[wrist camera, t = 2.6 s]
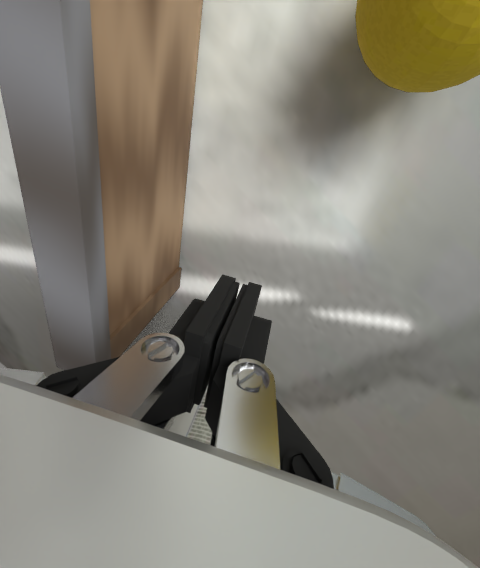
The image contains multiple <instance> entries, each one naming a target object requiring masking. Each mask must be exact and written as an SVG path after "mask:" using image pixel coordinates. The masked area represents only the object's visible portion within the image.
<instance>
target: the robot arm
mask: <svg viewBox="0 0 480 568" xmlns="http://www.w3.org/2000/svg"><path fill="white" fill-rule="evenodd" d="M261 287H262V286H261V285H258V284H254V283H251V282H249V284H248V285H245V284H243V285H242V288H241V290H240V292H239V294H238V296H237V293H238V288H239V283H238V282H235V278H233V277H229V276H226V275H222V276H221V278H220V279H219V281H218V282H217V284H216V285H215V287H214V288H213V290H212V291H211V293H210V294H209V296H208V298H207V299H206V301H202V300H199V299H194V300H193V301H192V302H191V304H190V305H189V306H188V308H187V309H186V311H185V312H184V313H183V315H182V316H181V317H180V319H179V320H178V321H177V323H176V324H175V326H174V327H173V328H172V330H171V331H170V332H169V333H153V334H150V335H147V336H145V337H143V338H142V339H140V340H139V341H138V342H137V343H136V344H135V345H133V346H132V347H131V348H130V349H129V350H128V351H126V352H125V353H124V354H123V355H122V356H121V357H117V358H113V359H109V360H105V361H101V362H97V363H93V364H89V365H85V366H81V367H77V368H73V369H68V370H64V371H61V372H58V373H55V374H52V375H50V376H48V377H45V373H44V372H35V371H26V370H17V369H8V368H0V568H478V567H477V566H476V565H475V564H473V563H472V562H471V561H469V560H468V559H467V558H465V557H464V556H463V555H461V554H460V553H459V552H457V551H456V550H455V549H453V548H452V547H451V546H449V545H448V544H447V543H445V542H444V541H442V540H440V539H439V538H437V537H436V536H435V534H434V533H433V532H432V531H431V530H430V528H429V527H428V526H427V525H426V524H425V523H424V522H423V521H421V520H420V519H419V518H417V517H416V516H415V515H413V514H412V513H410V512H408V511H406V510H405V509H403V508H401V507H399V506H398V505H396V504H394V503H393V502H391V501H389V500H387V499H386V498H384V497H382V496H381V495H379V494H377V493H375V492H374V491H372V490H370V489H369V488H367V487H365V486H363V485H362V484H360V483H358V482H356V481H355V480H353V479H351V478H350V477H348V476H346V475H344V474H343V473H341V474H340V475H339V476H338V475H336V474H334V473H333V472H331V471H330V468H329V467H328V465H327V464H326V462H325V460H324V459H323V458H322V456H321V455H320V454H319V452H318V451H317V450H316V449H315V447H314V446H313V445H312V444H311V442H310V441H309V440H308V439H307V437H306V436H305V435H304V433H303V432H302V431H301V430H300V428H299V427H298V426H297V425H296V423H295V422H294V421H293V419H292V418H291V417H290V416H289V414H288V413H287V412H286V411H285V409H284V408H283V407H282V406H281V404H280V403H279V402H278V400H277V399H276V391H275V380H274V376H273V374H272V372H271V371H270V369H269V368H268V367H267V366H266V365H264V360H265V354H266V349H267V344H268V339H269V334H270V328H271V323H272V321H271V320H267V319H264V318H260V317H257V316H254V313H255V309H256V306H257V302H258V298H259V295H260V291H261ZM236 297H237V299H236ZM207 386H208V388H207ZM206 389H207V393H206V398H205V403H204V407H205V408H207V410H206V415H205V419H206V421H207V423H208V425H209V427H210V429H211V431H212V434H211V439H210V445H208V444H205V443H202V442H199V441H197V440H194V439H191V438H188V437H185V436H182V435H179V434H176V433H173V432H170V431H169V429H170V428H171V426H172V425H173V423H174V421H175V418H176V416H177V415H180V414H182V413H185V412H188V413H191V410H192V408H193V406H194V404H196V405H200V403H201V401H202V398H203V396H204V394H205V391H206Z"/></svg>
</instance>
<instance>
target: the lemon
mask: <svg viewBox="0 0 480 568" xmlns="http://www.w3.org/2000/svg"><path fill="white" fill-rule="evenodd" d="M355 18H356V29H357V40H358V45H359V48H360V50H361V53H362V56H363V59H364V62H365V63H366V65H367V66H368V67H369V69H370V70H371V72H372V73H373V74H374V76H375V77H377V78H378V79H379V80H381V81H382V82H383V83H385V84H386V85H388V86H389V87H392V88H395V89H399V90H402V91H405V92H434V91H437V90H441V89H445V88H449V87H452V86H456V85H459V84H462V83H464V82H466V81H468V80H470V79H472V78H474V77H476V76H478V75H480V0H357V7H356V16H355Z"/></svg>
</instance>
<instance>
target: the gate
mask: <svg viewBox="0 0 480 568" xmlns="http://www.w3.org/2000/svg"><path fill="white" fill-rule="evenodd" d="M202 5H203V0H0V88H1V93H2V98H3V103H4V108H5V113H6V118H7V123H8V128H9V133H10V138H11V143H12V148H13V153H14V158H15V163H16V167H17V172H18V177H19V182H20V187H21V192H22V197H23V202H24V207H25V212H26V217H27V222H28V227H29V232H30V237H31V242H32V247H33V252H34V257H35V262H36V267H37V271H38V276H39V281H40V286H41V291H42V296H43V301H44V306H45V311H46V316H47V321H48V326H49V331H50V336H51V341H52V346H53V351H54V356H55V361H56V366H57V367H58V368H61V369H64V370H68V369H73V368H77V367H81V366H85V365H89V364H93V363H97V362H101V361H105V360H109V359H113V358H117V357H120V356H121V354H122V353H123V352H124V351H125V350H126V349H127V347H128V346H129V345H130V344H131V343H132V342H133V340H134V339H135V338H136V337H137V336H138V335H139V334H140V332H141V331H142V330H143V329H144V328H145V327H146V325H147V324H148V323H149V322H150V321H151V320H152V318H153V317H154V316H155V315H156V314H157V313H158V312H159V310H160V309H161V308H162V307H163V306H164V305H165V303H166V302H167V301H168V300H169V299H170V298H171V296H172V295H173V294H174V293H175V292H176V291H177V289H178V288H179V287H180V277H181V268H180V267H179V258H180V247H181V236H182V225H183V214H184V203H185V192H186V181H187V170H188V159H189V148H190V137H191V126H192V115H193V104H194V93H195V82H196V71H197V60H198V49H199V38H200V27H201V16H202Z"/></svg>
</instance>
